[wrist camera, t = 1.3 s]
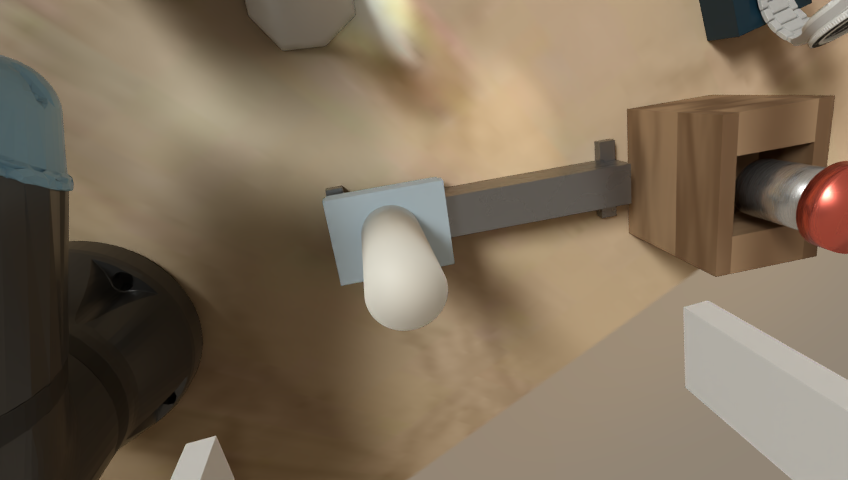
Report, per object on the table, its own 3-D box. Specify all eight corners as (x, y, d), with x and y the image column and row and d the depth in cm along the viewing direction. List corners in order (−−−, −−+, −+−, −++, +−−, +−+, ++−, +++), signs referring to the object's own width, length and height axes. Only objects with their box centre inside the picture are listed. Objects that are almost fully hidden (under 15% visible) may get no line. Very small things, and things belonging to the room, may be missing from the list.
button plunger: (723, 228, 30) (812, 261, 24) (727, 156, 29) (822, 173, 23) (789, 215, 31) (892, 244, 25) (796, 144, 29) (907, 157, 23)
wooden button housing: (629, 232, 40) (715, 276, 30) (627, 109, 36) (723, 115, 27) (707, 217, 40) (816, 256, 31) (712, 94, 37) (834, 95, 28)
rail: (342, 264, 37) (341, 278, 34) (326, 188, 35) (323, 197, 32) (611, 213, 39) (631, 222, 36) (609, 138, 37) (630, 142, 34)
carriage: (342, 269, 36) (336, 364, 23) (325, 192, 34) (308, 249, 21) (446, 250, 36) (494, 331, 24) (435, 172, 34) (481, 217, 22)
